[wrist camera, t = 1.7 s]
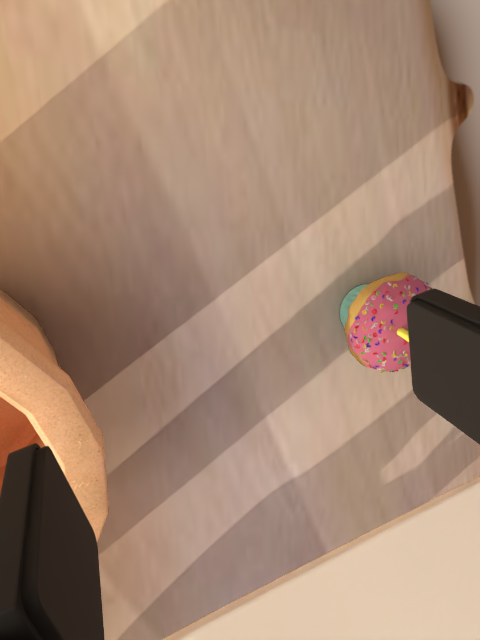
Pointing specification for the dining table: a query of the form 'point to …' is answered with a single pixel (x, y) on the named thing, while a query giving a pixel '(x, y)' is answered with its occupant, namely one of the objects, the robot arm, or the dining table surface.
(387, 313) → the cupcake
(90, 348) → the dining table surface
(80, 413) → the pottery
